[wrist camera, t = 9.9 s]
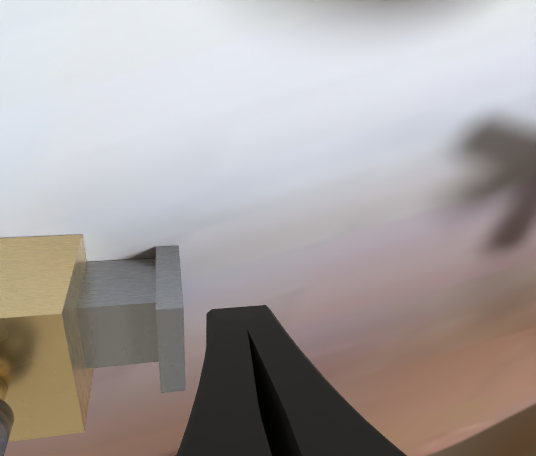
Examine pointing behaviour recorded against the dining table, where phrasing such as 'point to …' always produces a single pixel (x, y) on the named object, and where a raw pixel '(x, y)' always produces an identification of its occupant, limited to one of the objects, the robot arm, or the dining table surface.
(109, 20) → the dining table surface
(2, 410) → the valve lever
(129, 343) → the valve body
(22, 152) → the dining table surface
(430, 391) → the dining table surface
